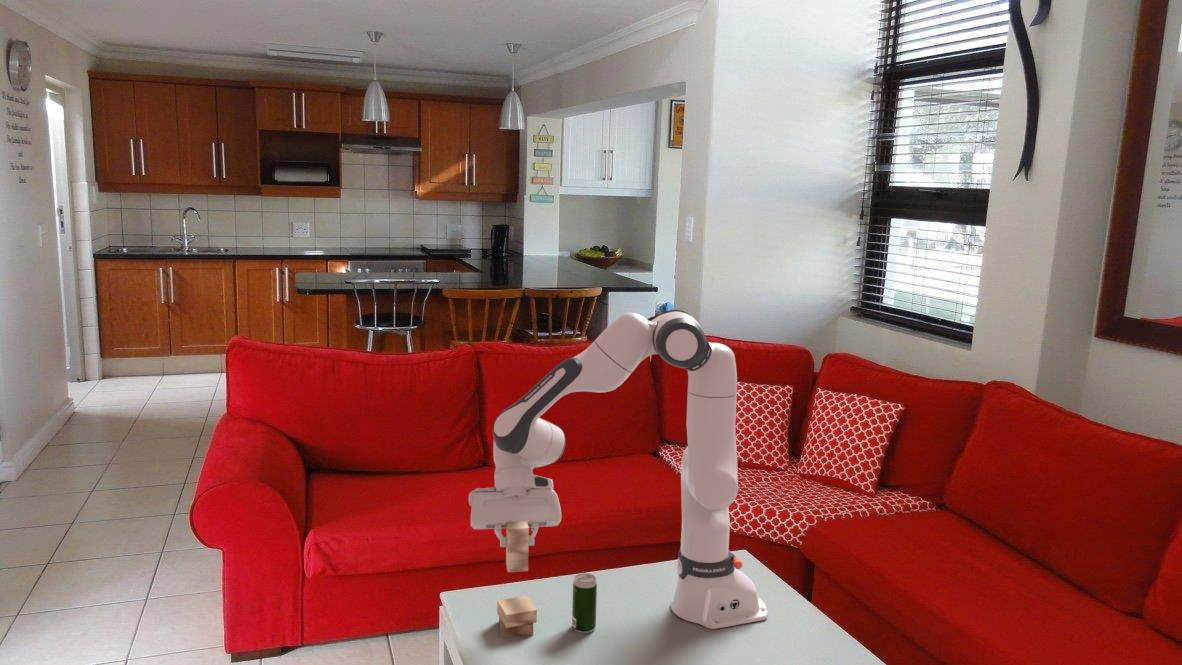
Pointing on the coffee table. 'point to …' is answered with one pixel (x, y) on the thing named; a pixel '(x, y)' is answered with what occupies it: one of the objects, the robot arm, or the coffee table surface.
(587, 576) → the beer can
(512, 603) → the oak block
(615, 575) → the coffee table surface
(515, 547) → the tan block
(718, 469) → the robot arm
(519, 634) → the light brown flat block
